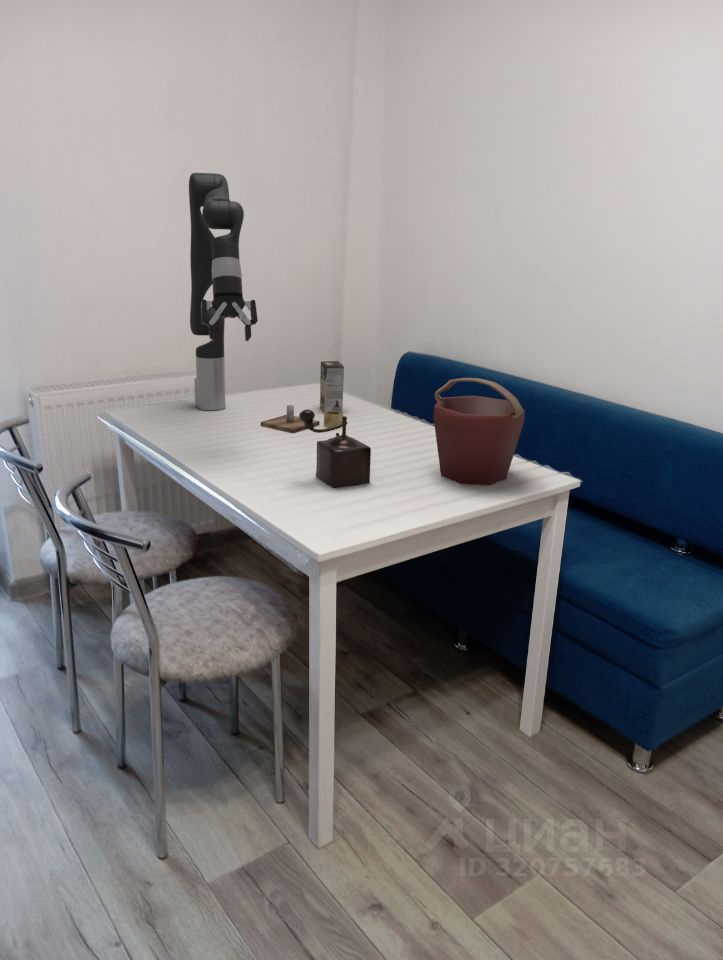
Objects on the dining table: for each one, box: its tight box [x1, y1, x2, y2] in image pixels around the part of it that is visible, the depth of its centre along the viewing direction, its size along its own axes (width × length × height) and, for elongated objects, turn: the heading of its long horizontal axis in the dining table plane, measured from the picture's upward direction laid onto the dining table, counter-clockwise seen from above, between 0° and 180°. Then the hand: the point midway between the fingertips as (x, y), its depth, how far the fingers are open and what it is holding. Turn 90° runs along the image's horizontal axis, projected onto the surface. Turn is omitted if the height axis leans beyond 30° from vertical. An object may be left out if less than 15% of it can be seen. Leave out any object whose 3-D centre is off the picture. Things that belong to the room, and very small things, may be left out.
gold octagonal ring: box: [323, 411, 344, 428], centre depth 251 cm, size 6×6×4 cm
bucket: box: [433, 377, 526, 486], centre depth 205 cm, size 24×22×25 cm
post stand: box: [260, 404, 320, 434], centre depth 249 cm, size 13×13×6 cm
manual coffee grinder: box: [298, 408, 372, 489], centre depth 198 cm, size 16×11×18 cm
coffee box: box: [319, 360, 345, 413], centre depth 267 cm, size 9×6×16 cm
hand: (230, 340), depth 206 cm, fingers open, 8 cm apart
